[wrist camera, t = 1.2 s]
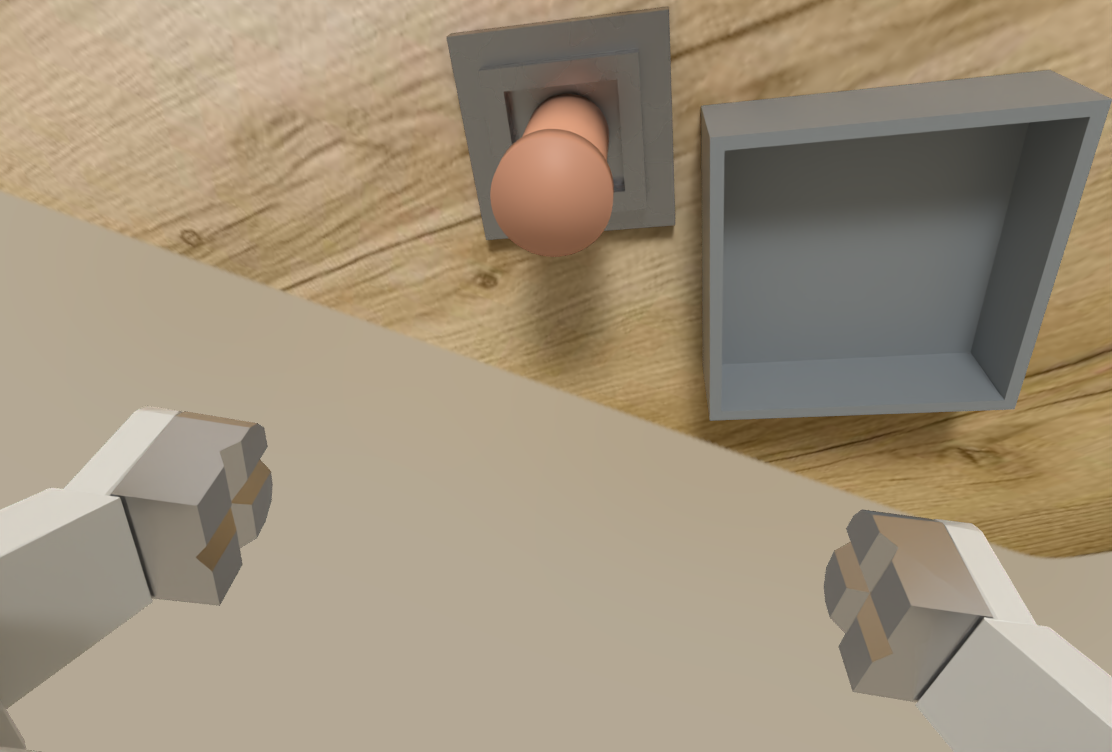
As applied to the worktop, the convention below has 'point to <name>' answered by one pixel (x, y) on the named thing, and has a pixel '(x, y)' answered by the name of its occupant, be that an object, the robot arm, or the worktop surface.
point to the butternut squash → (556, 179)
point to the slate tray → (887, 242)
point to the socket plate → (583, 69)
